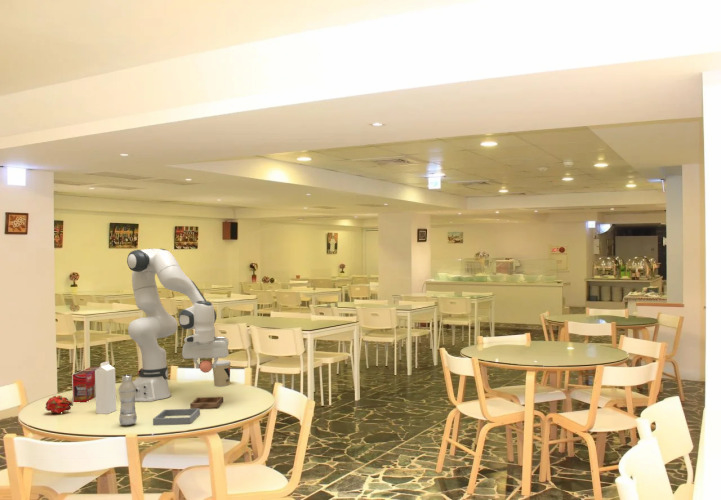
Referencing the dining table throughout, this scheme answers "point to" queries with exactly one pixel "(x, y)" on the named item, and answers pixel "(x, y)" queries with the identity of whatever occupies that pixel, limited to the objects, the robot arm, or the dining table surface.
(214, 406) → the tray
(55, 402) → the dragon fruit
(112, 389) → the milk
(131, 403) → the plastic bottle
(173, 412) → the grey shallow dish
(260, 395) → the dining table surface
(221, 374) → the coffee cup
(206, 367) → the ball
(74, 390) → the ice cream box
